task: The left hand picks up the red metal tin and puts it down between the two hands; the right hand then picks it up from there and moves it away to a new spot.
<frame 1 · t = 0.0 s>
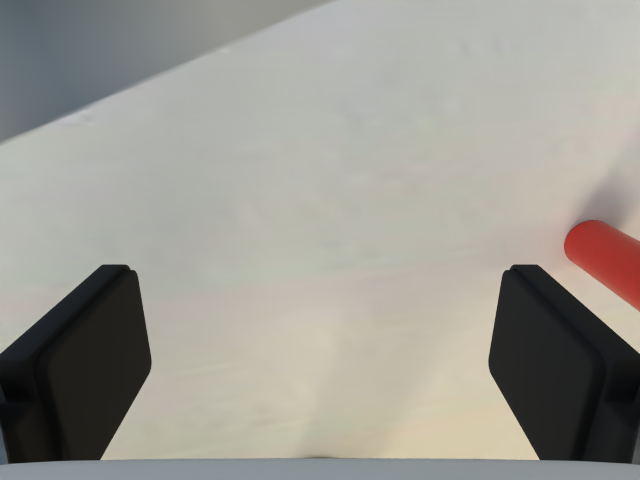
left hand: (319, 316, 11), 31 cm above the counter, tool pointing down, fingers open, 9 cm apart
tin: (588, 242, 44), on the counter
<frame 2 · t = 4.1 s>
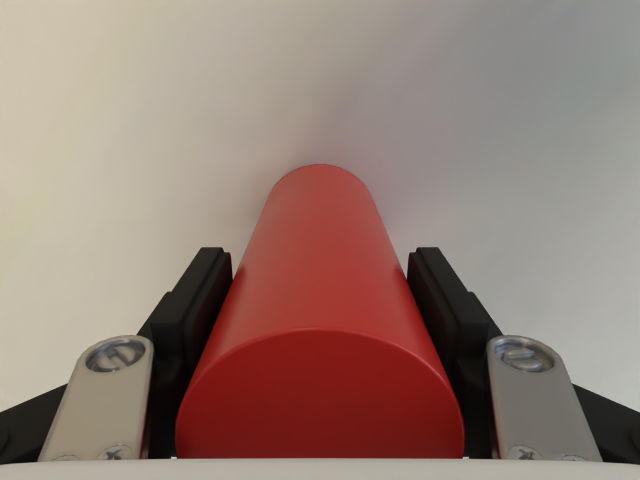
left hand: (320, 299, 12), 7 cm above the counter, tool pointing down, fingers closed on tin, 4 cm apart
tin: (319, 219, 19), on the counter, touching left hand
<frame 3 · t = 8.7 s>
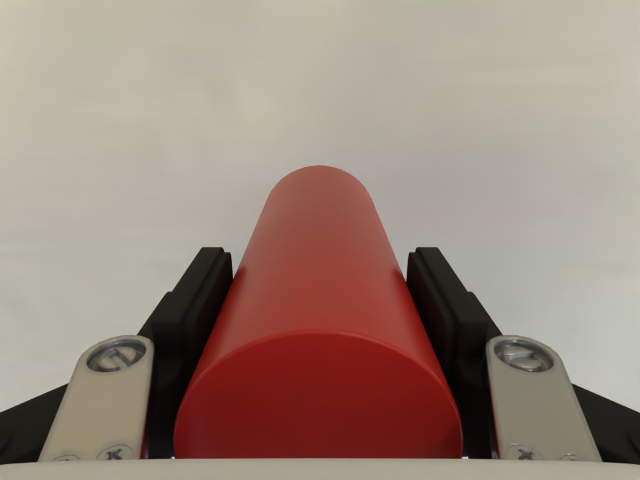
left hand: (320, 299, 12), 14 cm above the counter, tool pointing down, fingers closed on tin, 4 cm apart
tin: (319, 220, 19), point 7 cm above the counter, touching left hand
when the left hand's fingers open (8 cm above the counter, at t = 13.6 s): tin drops 1 cm, on the counter.
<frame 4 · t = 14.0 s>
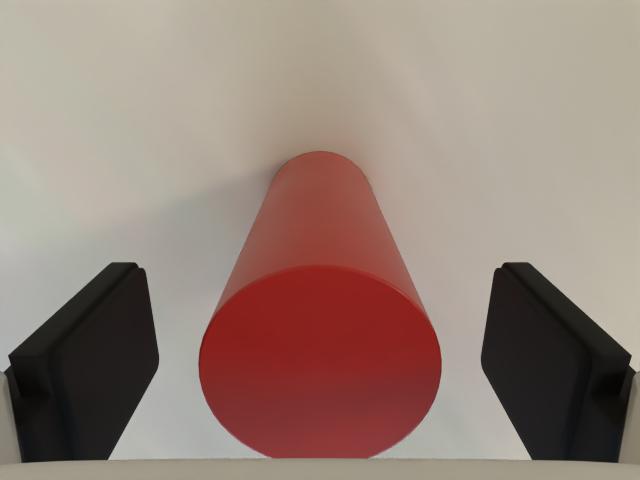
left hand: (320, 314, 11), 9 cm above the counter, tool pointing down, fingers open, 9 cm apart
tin: (320, 203, 20), on the counter
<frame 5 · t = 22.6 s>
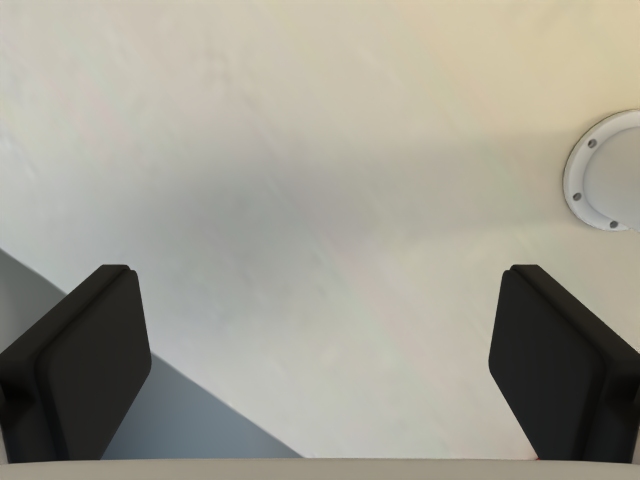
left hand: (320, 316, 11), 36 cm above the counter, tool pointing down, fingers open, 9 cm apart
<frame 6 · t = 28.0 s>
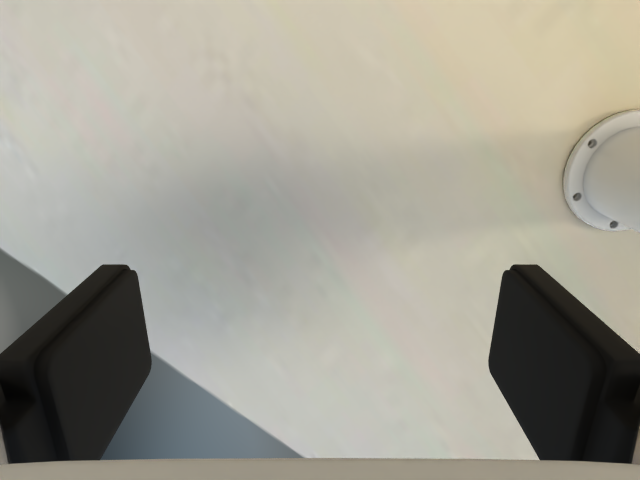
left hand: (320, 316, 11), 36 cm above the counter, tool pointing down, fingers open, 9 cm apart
when the right hand's fingers open (9 cm above the counter, at t = 33.7 s): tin drops 1 cm, on the counter.
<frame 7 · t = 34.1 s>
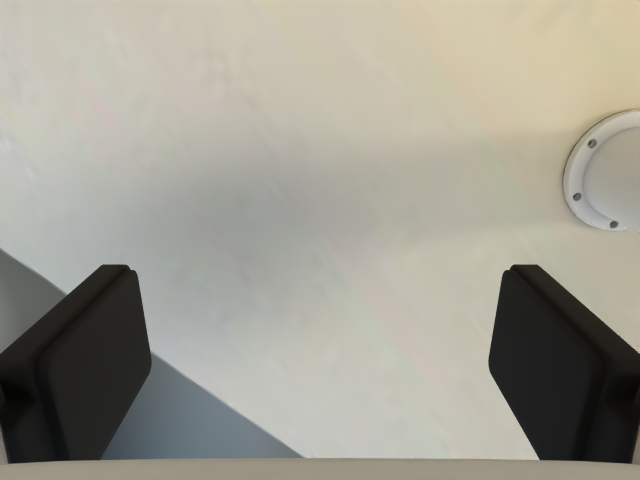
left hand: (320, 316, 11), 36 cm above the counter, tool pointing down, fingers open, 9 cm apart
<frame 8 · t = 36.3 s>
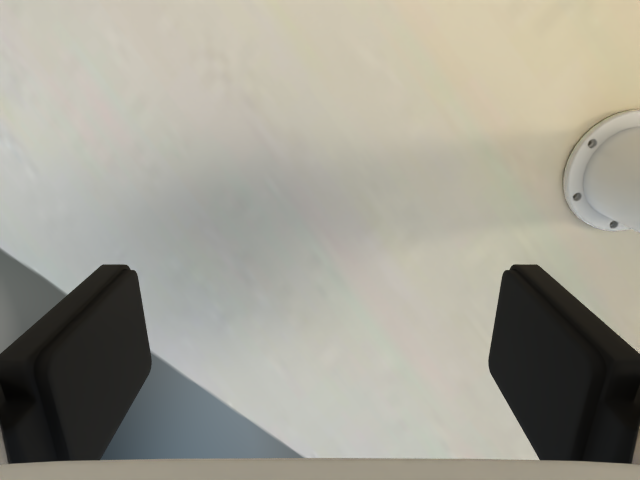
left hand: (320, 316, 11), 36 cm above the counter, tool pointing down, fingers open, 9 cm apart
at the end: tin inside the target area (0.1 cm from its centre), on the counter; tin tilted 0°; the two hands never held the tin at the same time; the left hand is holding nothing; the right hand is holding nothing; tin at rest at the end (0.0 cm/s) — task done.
